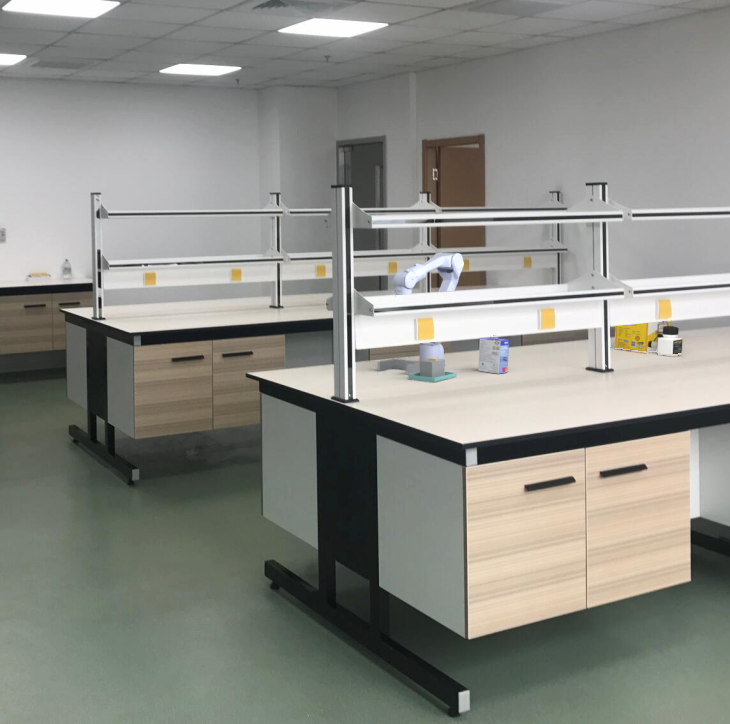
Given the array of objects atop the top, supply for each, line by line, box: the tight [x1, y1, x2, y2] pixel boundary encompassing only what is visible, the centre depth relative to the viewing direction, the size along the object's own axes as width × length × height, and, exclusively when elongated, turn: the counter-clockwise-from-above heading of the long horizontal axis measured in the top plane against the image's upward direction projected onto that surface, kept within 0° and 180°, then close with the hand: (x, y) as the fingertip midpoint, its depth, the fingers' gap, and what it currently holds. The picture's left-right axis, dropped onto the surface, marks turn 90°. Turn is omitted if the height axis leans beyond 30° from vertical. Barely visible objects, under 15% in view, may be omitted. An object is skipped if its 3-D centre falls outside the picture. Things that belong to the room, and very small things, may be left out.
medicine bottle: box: [656, 325, 683, 354], centre depth 393 cm, size 7×7×12 cm
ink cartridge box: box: [477, 336, 510, 375], centre depth 351 cm, size 10×6×14 cm, turn 46°
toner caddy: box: [420, 358, 446, 378], centre depth 338 cm, size 8×5×7 cm, turn 143°
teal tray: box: [408, 371, 457, 383], centre depth 338 cm, size 14×11×2 cm
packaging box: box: [613, 320, 672, 352], centre depth 408 cm, size 16×16×25 cm
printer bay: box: [377, 358, 420, 376], centre depth 352 cm, size 10×14×4 cm
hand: (402, 343), depth 350 cm, fingers open, 7 cm apart
